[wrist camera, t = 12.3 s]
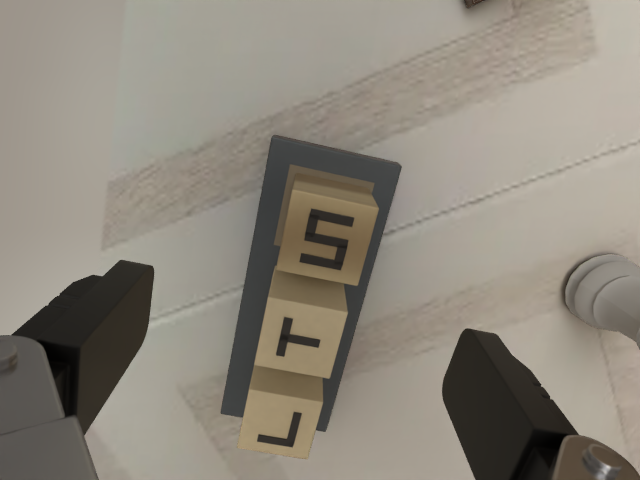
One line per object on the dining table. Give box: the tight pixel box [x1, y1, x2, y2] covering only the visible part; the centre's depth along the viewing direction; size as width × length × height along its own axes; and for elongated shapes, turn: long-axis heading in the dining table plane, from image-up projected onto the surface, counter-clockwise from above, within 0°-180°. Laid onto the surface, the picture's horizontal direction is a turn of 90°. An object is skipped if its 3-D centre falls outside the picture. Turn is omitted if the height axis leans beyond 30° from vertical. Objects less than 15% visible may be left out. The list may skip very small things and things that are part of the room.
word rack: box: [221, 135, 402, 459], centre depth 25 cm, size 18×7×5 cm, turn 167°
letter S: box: [276, 173, 379, 286], centre depth 22 cm, size 4×4×4 cm
